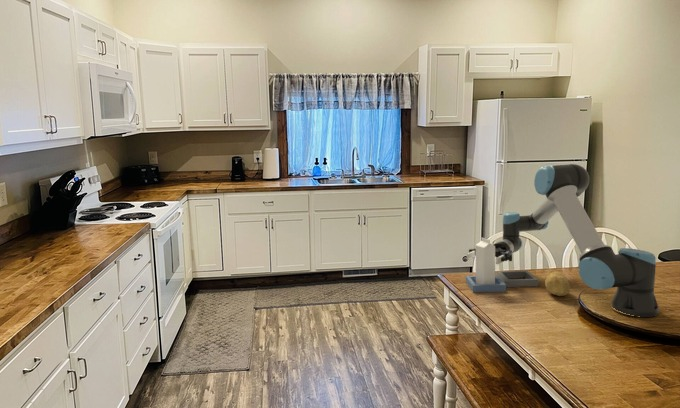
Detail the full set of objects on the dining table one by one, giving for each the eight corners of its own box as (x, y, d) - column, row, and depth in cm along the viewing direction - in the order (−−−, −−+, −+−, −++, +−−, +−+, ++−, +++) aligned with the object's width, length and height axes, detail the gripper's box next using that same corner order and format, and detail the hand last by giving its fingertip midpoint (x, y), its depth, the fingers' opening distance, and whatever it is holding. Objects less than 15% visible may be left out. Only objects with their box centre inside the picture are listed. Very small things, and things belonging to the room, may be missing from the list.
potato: (540, 297, 197) (540, 275, 196) (549, 287, 208) (550, 266, 207) (566, 301, 191) (567, 278, 189) (574, 291, 202) (575, 269, 201)
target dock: (505, 291, 205) (505, 284, 205) (473, 292, 206) (472, 285, 206) (496, 281, 219) (496, 275, 219) (465, 282, 220) (465, 276, 219)
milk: (486, 284, 216) (487, 236, 213) (495, 287, 211) (495, 239, 208) (475, 286, 214) (475, 237, 211) (483, 289, 209) (484, 240, 206)
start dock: (538, 286, 211) (538, 279, 210) (506, 287, 211) (506, 280, 211) (527, 276, 224) (527, 270, 224) (497, 277, 225) (497, 271, 225)
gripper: (529, 260, 216) (509, 271, 201) (477, 253, 233) (456, 263, 217) (529, 244, 215) (510, 254, 199) (477, 238, 232) (456, 246, 216)
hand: (481, 258), depth 208 cm, fingers open, 13 cm apart
